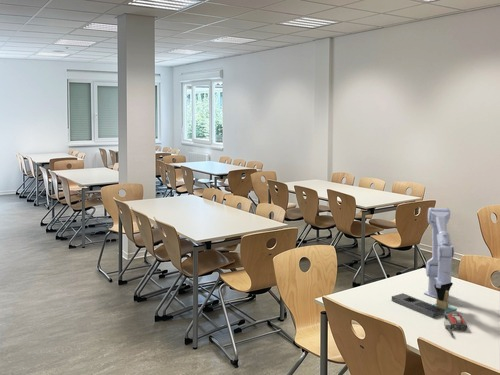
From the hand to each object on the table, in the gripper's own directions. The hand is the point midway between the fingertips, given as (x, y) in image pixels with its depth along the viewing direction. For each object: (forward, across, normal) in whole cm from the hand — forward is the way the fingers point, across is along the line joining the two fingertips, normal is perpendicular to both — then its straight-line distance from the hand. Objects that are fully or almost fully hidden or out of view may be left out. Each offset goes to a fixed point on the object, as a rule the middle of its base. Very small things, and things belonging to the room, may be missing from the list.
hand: (442, 298), depth 228 cm
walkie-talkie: (+5, +18, +12) cm, 22 cm away
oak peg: (+4, 0, 0) cm, 4 cm away
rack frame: (+5, +6, -9) cm, 12 cm away
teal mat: (+5, 0, 0) cm, 5 cm away
